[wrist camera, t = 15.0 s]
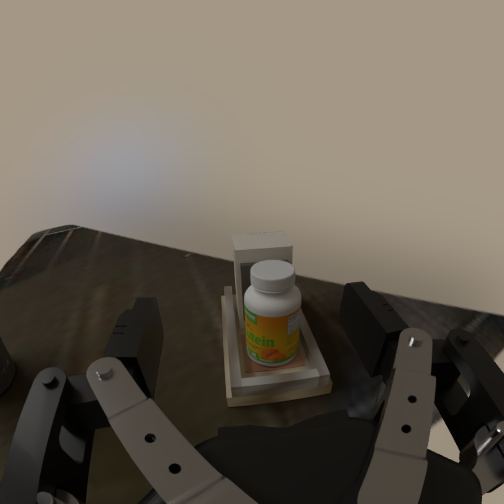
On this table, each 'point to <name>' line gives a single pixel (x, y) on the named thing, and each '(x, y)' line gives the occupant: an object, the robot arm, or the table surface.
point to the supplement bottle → (272, 313)
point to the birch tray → (266, 377)
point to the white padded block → (256, 259)
